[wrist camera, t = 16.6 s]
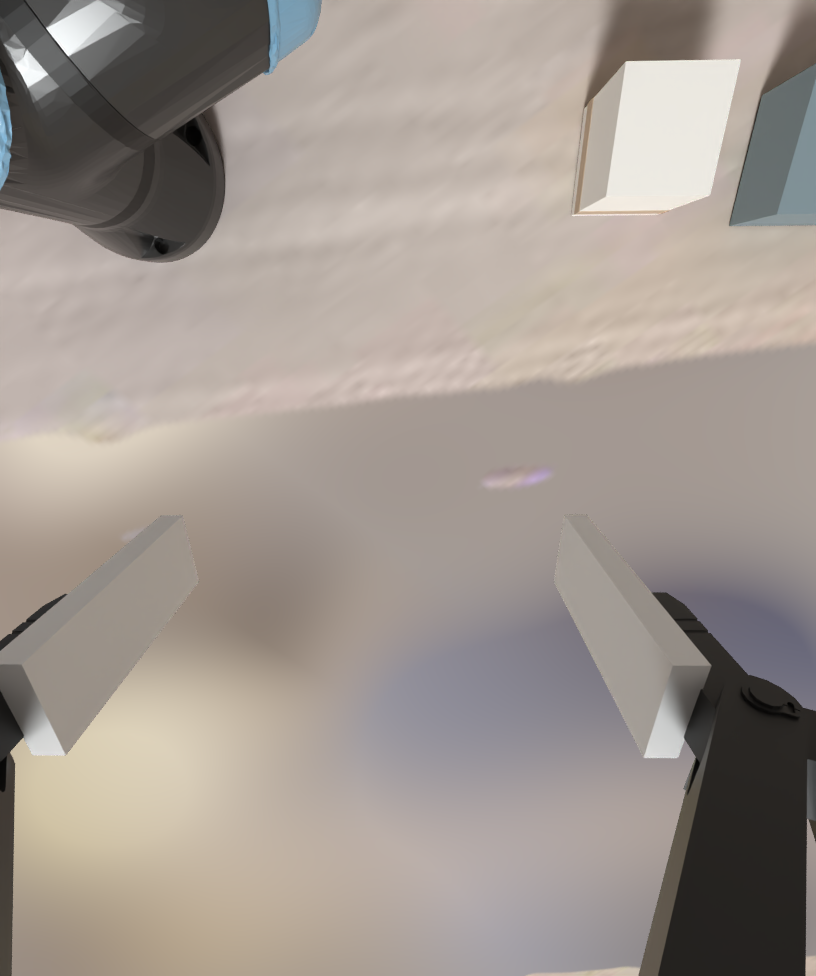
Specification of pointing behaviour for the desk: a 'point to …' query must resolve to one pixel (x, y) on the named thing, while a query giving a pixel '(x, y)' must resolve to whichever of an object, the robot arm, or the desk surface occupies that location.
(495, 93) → the desk surface
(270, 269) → the desk surface
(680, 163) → the carton
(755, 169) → the grey-blue square block
